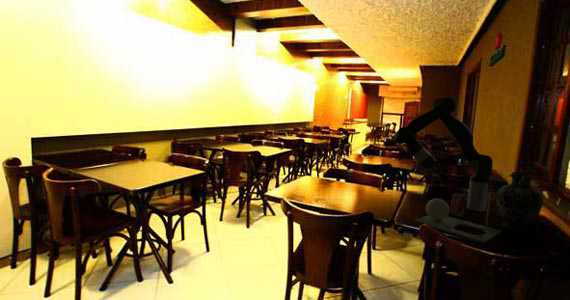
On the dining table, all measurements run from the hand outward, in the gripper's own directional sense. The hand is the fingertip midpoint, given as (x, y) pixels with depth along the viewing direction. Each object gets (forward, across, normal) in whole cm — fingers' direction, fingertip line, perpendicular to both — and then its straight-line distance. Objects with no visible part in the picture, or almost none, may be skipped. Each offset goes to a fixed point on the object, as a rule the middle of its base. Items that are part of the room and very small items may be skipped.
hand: (447, 182), depth 161 cm
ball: (+8, +3, +13) cm, 15 cm away
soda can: (+18, +20, +7) cm, 28 cm away
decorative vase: (+38, +13, -9) cm, 41 cm away
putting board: (+18, 0, +12) cm, 22 cm away
